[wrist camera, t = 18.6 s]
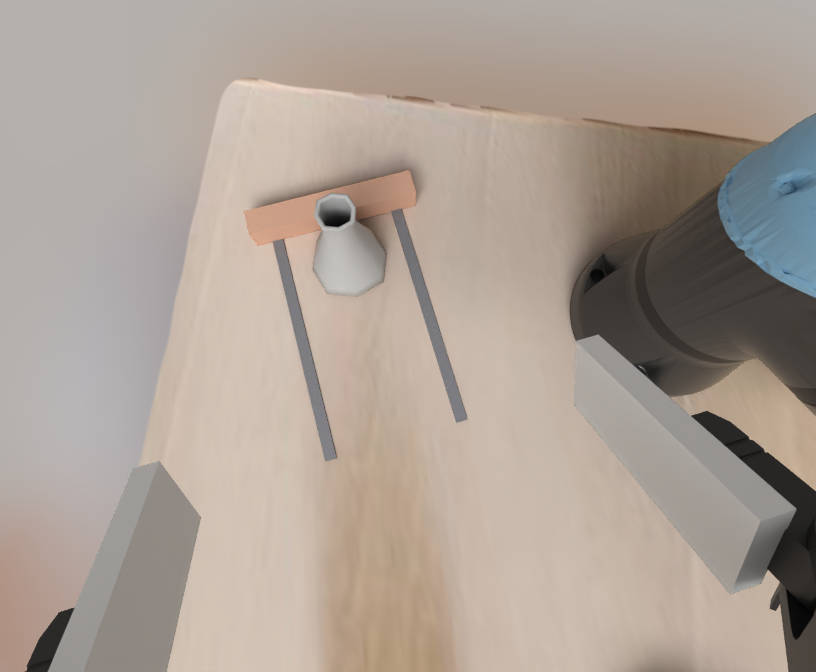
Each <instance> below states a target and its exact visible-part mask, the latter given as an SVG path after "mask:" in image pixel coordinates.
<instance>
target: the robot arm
mask: <svg viewBox="0 0 816 672" xmlns="http://www.w3.org/2000/svg"><path fill="white" fill-rule="evenodd" d="M570 317H571V324H572V329H573V333H574V336H575V339H576V353H575V393H574V406H575V407H576V408H577V409H578V410H579V412H580V413H581V414H582V415H583V416H584V418H585V419H586V420H587V421H588V423H589V424H590V425H591V426H592V427H593V429H594V430H595V431H596V432H597V433H598V435H599V436H600V437H601V438H602V440H603V441H604V442H605V443H606V444H607V446H608V447H609V448H610V449H611V450H612V452H613V453H614V454H615V455H616V457H617V458H618V459H619V460H620V461H621V463H622V464H623V465H624V466H625V467H626V469H627V470H628V471H629V472H630V473H631V475H632V476H633V477H634V478H635V480H636V481H637V482H638V483H639V484H640V486H641V487H642V488H643V489H644V490H645V492H646V493H647V494H648V495H649V497H650V498H651V499H652V500H653V501H654V503H655V504H656V505H657V506H658V507H659V509H660V510H661V511H662V512H663V514H664V515H665V516H666V517H667V518H668V520H669V521H670V522H671V523H672V524H673V526H674V527H675V528H676V529H677V531H678V532H679V533H680V534H681V535H682V537H683V538H684V539H685V540H686V541H687V543H688V544H689V545H690V546H691V548H692V549H693V550H694V551H695V552H696V554H697V555H698V556H699V557H700V558H701V560H702V561H703V562H704V563H705V565H706V566H707V567H708V568H709V569H710V571H711V572H712V573H713V574H714V575H715V577H716V578H717V579H718V580H719V582H720V583H721V584H722V585H723V586H724V588H725V589H726V590H727V591H728V592H729V594H733V593H735V592H738V591H741V590H744V589H747V588H750V587H753V586H756V585H759V584H761V583H762V580H763V578H764V576H765V574H766V572H767V570H769V571H770V572H771V573H772V574H773V575H774V576H775V577H776V578H777V579H778V580H779V581H780V584H779V586H778V587H777V589H776V591H775V593H774V595H773V597H772V599H771V604H770V609H772V610H775V611H776V610H777V608H778V606H779V604H780V606H781V614H782V622H783V630H784V638H785V646H786V654H787V662H788V670H789V672H816V491H815V490H813V489H812V488H811V487H810V486H809V485H807V484H806V483H805V482H804V481H802V480H801V479H800V478H799V477H797V476H796V475H795V474H794V473H793V472H791V471H790V470H789V469H788V468H786V467H785V466H784V465H783V464H781V463H780V462H779V461H778V460H777V459H775V458H774V457H773V456H772V455H770V454H769V453H768V452H767V453H766V452H765V451H764V449H763V448H762V447H761V446H759V445H758V444H757V443H756V442H754V441H753V440H750V439H749V437H748V436H747V435H746V434H745V433H743V432H742V431H741V430H740V429H738V428H737V427H736V426H735V425H733V424H732V423H731V422H730V421H727V420H725V419H723V418H721V417H719V416H717V415H715V414H712V413H710V412H708V411H705V412H702V413H699V414H695V415H692V416H690V415H689V414H688V413H687V412H686V411H685V410H683V409H682V408H681V407H680V406H679V405H678V404H677V403H676V402H674V401H673V400H672V399H671V398H670V397H676V396H683V395H689V394H693V393H696V392H699V391H702V390H704V389H707V388H709V387H711V386H713V385H714V384H716V383H718V382H719V381H720V380H722V379H723V378H724V377H726V376H727V375H728V374H729V373H731V372H732V371H733V370H734V369H736V368H737V367H738V366H740V365H741V364H742V363H743V362H745V361H747V360H751V359H757V358H758V359H759V360H761V361H762V362H763V363H764V364H765V365H766V366H767V367H768V368H769V369H770V370H771V371H772V372H773V373H774V374H775V375H776V376H777V377H778V378H779V380H780V381H781V382H783V383H784V384H785V385H786V386H787V387H788V388H789V389H790V390H791V391H792V392H793V393H794V394H795V395H796V396H797V398H798V399H799V400H800V401H801V402H802V403H803V404H804V405H805V406H806V407H807V408H808V409H809V410H810V411H811V412H812V413H813V414H814V415H815V416H816V113H815V114H813V115H811V116H809V117H807V118H806V119H804V120H802V121H801V122H799V123H797V124H796V125H795V126H793V127H792V128H790V129H789V130H788V131H786V132H785V133H783V134H782V135H781V136H779V137H778V138H776V139H775V140H774V141H772V142H771V143H769V144H768V145H767V146H764V147H762V148H760V149H757V150H755V151H754V152H752V153H750V154H749V155H747V156H746V157H745V158H743V159H742V160H741V161H740V162H739V163H738V164H737V165H735V166H734V167H733V168H732V170H731V171H730V172H729V173H728V174H727V175H726V177H725V180H723V181H722V182H721V183H720V184H718V185H717V186H716V187H714V188H713V189H712V190H711V191H709V192H708V193H707V194H705V195H704V196H703V197H701V198H700V199H699V200H698V201H696V202H695V203H694V204H692V205H691V206H690V207H689V208H687V209H686V210H685V211H683V212H682V213H681V214H680V215H678V216H677V217H676V218H674V219H673V220H672V221H670V222H669V223H668V224H667V225H666V226H664V227H663V228H662V229H660V230H656V231H652V232H648V233H644V234H640V235H636V236H632V237H629V238H626V239H623V240H621V241H619V242H617V243H615V244H613V245H611V246H610V247H608V248H607V249H605V250H604V251H603V252H601V253H600V254H599V255H598V256H597V257H596V258H595V259H594V260H593V261H591V262H590V263H589V264H588V265H587V267H586V268H585V269H584V270H583V272H582V273H581V275H580V276H579V278H578V280H577V282H576V284H575V287H574V290H573V293H572V298H571V304H570ZM200 519H201V517H200V515H199V514H198V513H197V511H196V510H195V509H194V507H193V506H192V505H191V503H190V502H189V501H188V499H187V498H186V497H185V495H184V494H183V492H182V491H181V490H180V488H179V487H178V486H177V484H176V483H175V482H174V480H173V479H172V478H171V476H170V475H169V473H168V472H167V471H166V469H165V468H164V467H163V465H162V464H161V463H160V461H158V462H155V463H151V464H148V465H144V466H141V467H138V468H134V469H133V470H132V473H131V475H130V478H129V480H128V483H127V485H126V487H125V489H124V492H123V494H122V497H121V499H120V501H119V504H118V506H117V508H116V511H115V513H114V515H113V518H112V520H111V523H110V525H109V528H108V530H107V532H106V535H105V537H104V539H103V542H102V544H101V546H100V549H99V551H98V554H97V556H96V558H95V561H94V563H93V566H92V568H91V570H90V573H89V575H88V578H87V580H86V582H85V584H84V587H83V589H82V592H81V594H80V597H79V599H78V601H77V603H76V606H75V608H71V609H68V610H65V611H62V612H59V613H58V615H57V616H56V617H55V619H54V620H53V621H52V623H51V624H50V625H49V627H48V628H47V629H46V631H45V632H44V633H43V635H42V636H41V637H40V639H39V641H38V643H37V645H36V647H35V650H34V652H33V654H32V656H31V658H30V660H29V663H28V664H27V671H26V672H167V667H168V663H169V658H170V654H171V649H172V645H173V640H174V636H175V631H176V627H177V622H178V618H179V613H180V609H181V604H182V600H183V595H184V591H185V586H186V582H187V577H188V573H189V568H190V564H191V559H192V555H193V550H194V546H195V541H196V537H197V532H198V528H199V523H200Z"/></svg>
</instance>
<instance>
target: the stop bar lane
mask: <svg viewBox="0 0 816 672" xmlns="http://www.w3.org/2000/svg"><path fill="white" fill-rule="evenodd" d="M330 193H340V194H348V196H349V197H350V199H351V200H352V202H353V203H354V205H355V206H356V216H355V220H360V219H364V218H368V217H372V216H376V215H380V214H384V213H388V212H392V215H393V218H394V221H395V225H396V228H397V231H398V234H399V238H400V241H401V244H402V247H403V251H404V254H405V257H406V260H407V264H408V267H409V270H410V273H411V277H412V280H413V283H414V286H415V290H416V293H417V296H418V299H419V302H420V306H421V309H422V312H423V315H424V319H425V322H426V325H427V328H428V332H429V335H430V338H431V341H432V345H433V348H434V351H435V354H436V358H437V361H438V364H439V367H440V371H441V374H442V377H443V380H444V384H445V387H446V390H447V393H448V397H449V400H450V403H451V406H452V410H453V413H454V416H455V419H456V423H457V422H460V421H464V420H467V417H466V414H465V410H464V407H463V404H462V401H461V398H460V395H459V391H458V388H457V385H456V382H455V379H454V375H453V372H452V369H451V366H450V363H449V360H448V356H447V353H446V350H445V347H444V344H443V340H442V337H441V334H440V331H439V328H438V324H437V321H436V318H435V315H434V312H433V309H432V305H431V302H430V299H429V296H428V293H427V289H426V286H425V283H424V280H423V277H422V273H421V270H420V267H419V264H418V261H417V258H416V254H415V251H414V248H413V245H412V242H411V238H410V235H409V232H408V229H407V226H406V222H405V219H404V216H403V213H402V210H401V209H403V208H407V207H411V206H415V205H416V189H415V186H414V183H413V180H412V177H411V174H410V171H409V170H407V171H403V172H399V173H395V174H391V175H387V176H383V177H379V178H375V179H371V180H367V181H363V182H359V183H355V184H351V185H347V186H343V187H339V188H335V189H331V190H327V191H323V192H319V193H315V194H311V195H307V196H303V197H299V198H295V199H291V200H287V201H283V202H279V203H275V204H271V205H267V206H263V207H259V208H255V209H251V210H247V211H244V213H245V218H246V222H247V227H248V231H249V235H250V236H251V237H252V239H253V240H254V241H255V243H256V244H257V245H258V246H259V245H263V244H266V243H270V242H273V244H274V249H275V253H276V257H277V261H278V265H279V270H280V274H281V278H282V282H283V286H284V291H285V295H286V299H287V303H288V307H289V311H290V316H291V320H292V324H293V328H294V332H295V337H296V341H297V345H298V349H299V353H300V357H301V362H302V366H303V370H304V374H305V378H306V383H307V387H308V391H309V395H310V399H311V404H312V408H313V412H314V416H315V420H316V424H317V429H318V433H319V437H320V441H321V445H322V450H323V454H324V458H325V462H326V461H329V460H332V459H336V458H337V457H336V453H335V449H334V445H333V441H332V437H331V433H330V429H329V425H328V421H327V416H326V412H325V408H324V404H323V400H322V396H321V392H320V388H319V384H318V380H317V376H316V372H315V367H314V363H313V359H312V355H311V351H310V347H309V343H308V339H307V335H306V331H305V327H304V323H303V318H302V314H301V310H300V306H299V302H298V298H297V294H296V290H295V286H294V282H293V278H292V274H291V269H290V265H289V261H288V257H287V253H286V249H285V245H284V241H283V239H286V238H290V237H294V236H298V235H302V234H305V233H309V232H313V231H317V230H321V227H320V225H319V224H318V222H317V221H316V219H315V217H314V212H315V206H316V200H318V199H320V198H322V197H324V196H326V195H328V194H330Z"/></svg>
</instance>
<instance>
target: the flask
mask: <svg viewBox="0 0 816 672" xmlns="http://www.w3.org/2000/svg"><path fill="white" fill-rule="evenodd" d="M355 216H356V206H355V205H354V203H353V202H352V200H351V199H350V197H349V196H348V194H340V193H330V194H328V195H326V196H324V197H322V198H320V199H318V200H316V206H315V212H314V217H315V219H316V221H317V222H318V224H319V225H320V227H321V229H322V232H321V234H320V236H319V238H318V240H317V244H316V250H315V257H314V263H313V271H314V273H315V274H316V276H317V278H318V279H319V281H320V283H321V284H322V286H323V288H324V289H325V291H326V293H327V294H335V295H346V296H356V297H357V296H359V295H361V294H363V293H365V292H366V291H368V290H370V289H372V288H373V287H375V286H377V285H379V284H380V283H382V282H383V280H384V271H385V262H386V252H385V251H384V249H383V248H382V246H381V245H380V243H379V242H378V240H377V238H376V237H375V235H374V234H373V232H372V231H371V230H370V229H368V228H367V227H365V226H363V225H362V224H360V223H359V222H358V221H356V220H355Z"/></svg>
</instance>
